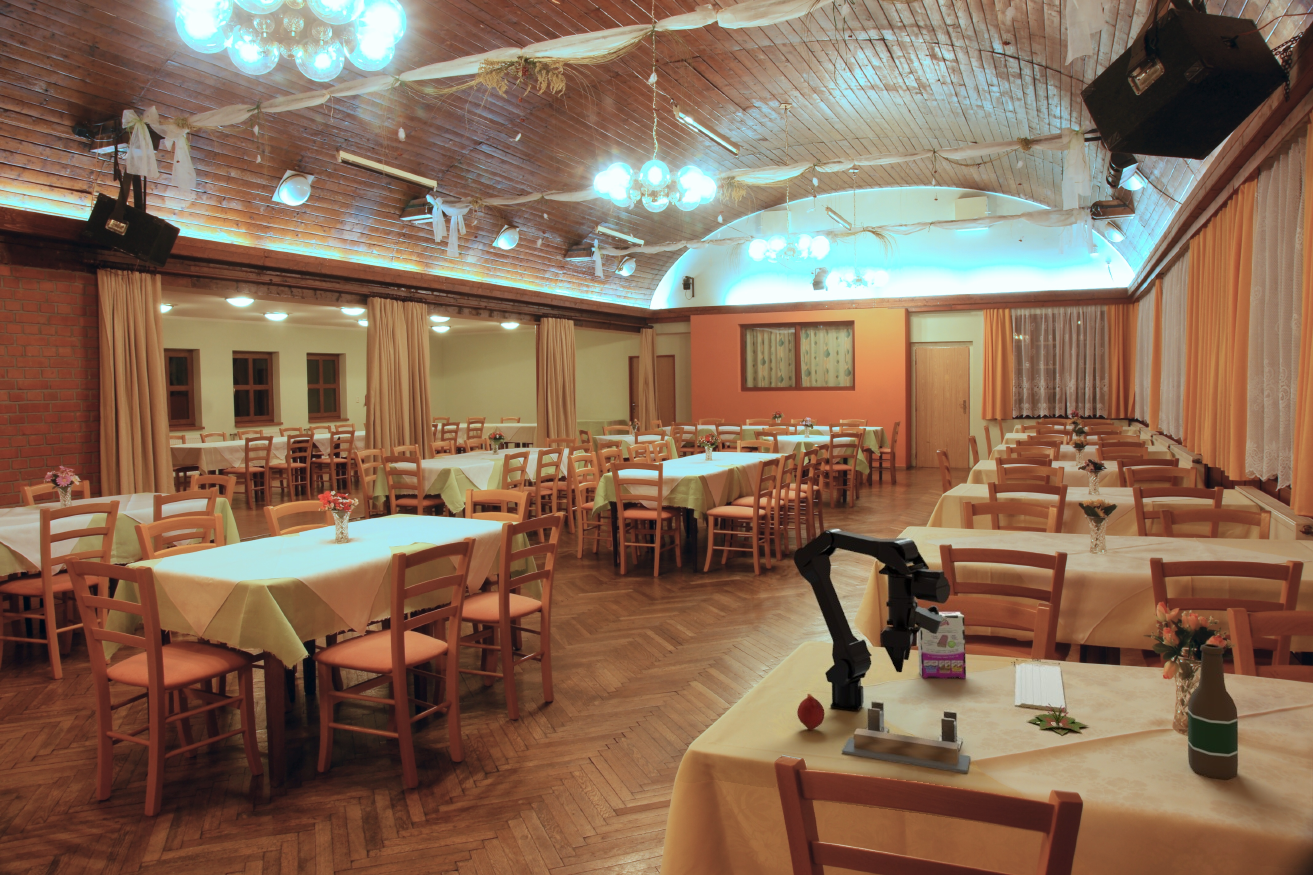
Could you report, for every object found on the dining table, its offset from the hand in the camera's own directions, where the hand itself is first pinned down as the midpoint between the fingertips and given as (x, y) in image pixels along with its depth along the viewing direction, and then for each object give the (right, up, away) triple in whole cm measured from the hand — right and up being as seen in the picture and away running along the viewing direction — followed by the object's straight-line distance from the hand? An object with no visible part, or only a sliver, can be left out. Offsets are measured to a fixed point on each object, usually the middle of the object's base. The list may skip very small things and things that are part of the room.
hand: (902, 665), depth 179 cm
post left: (-7, -13, -5) cm, 16 cm away
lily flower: (+33, -13, -2) cm, 36 cm away
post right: (+6, -13, -11) cm, 19 cm away
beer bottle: (+51, -13, -26) cm, 59 cm away
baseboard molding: (+40, -12, +21) cm, 46 cm away
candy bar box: (+20, -12, +31) cm, 39 cm away
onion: (-21, -14, -1) cm, 25 cm away
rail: (-4, -13, -16) cm, 21 cm away
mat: (-4, -14, -16) cm, 22 cm away
